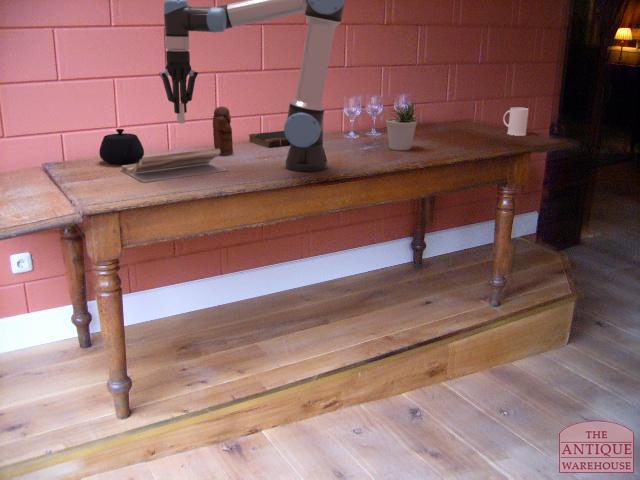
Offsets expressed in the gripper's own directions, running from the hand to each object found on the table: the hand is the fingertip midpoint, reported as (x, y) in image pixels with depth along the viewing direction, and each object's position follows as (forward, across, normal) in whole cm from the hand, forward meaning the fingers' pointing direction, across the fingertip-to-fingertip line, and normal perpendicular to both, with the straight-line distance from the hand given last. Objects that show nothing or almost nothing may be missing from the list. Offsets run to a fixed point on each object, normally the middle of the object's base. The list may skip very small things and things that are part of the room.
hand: (181, 122), depth 222 cm
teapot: (+18, +12, -25) cm, 33 cm away
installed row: (+17, +2, -10) cm, 20 cm away
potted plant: (+17, -92, +10) cm, 94 cm away
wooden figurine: (+17, -27, -21) cm, 39 cm away
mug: (+16, -162, +12) cm, 164 cm away
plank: (+13, +2, 0) cm, 14 cm away
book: (+18, -60, -28) cm, 69 cm away
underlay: (+17, +2, -3) cm, 18 cm away
